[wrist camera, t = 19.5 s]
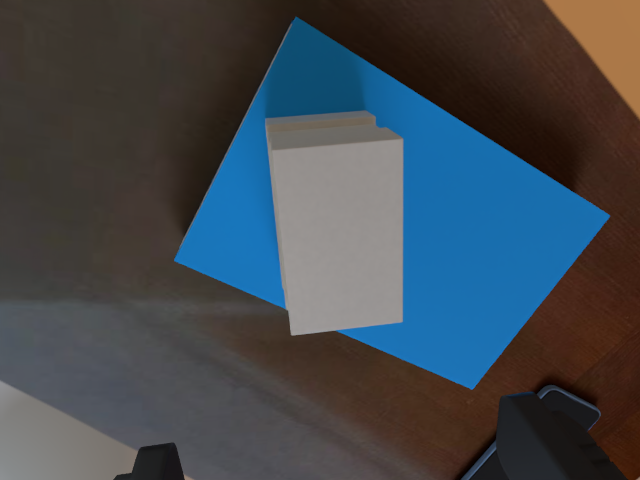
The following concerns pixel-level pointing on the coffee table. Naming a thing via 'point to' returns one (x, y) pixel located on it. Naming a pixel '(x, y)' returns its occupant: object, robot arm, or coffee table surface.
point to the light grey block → (341, 227)
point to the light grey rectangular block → (310, 126)
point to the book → (418, 213)
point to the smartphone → (488, 472)
